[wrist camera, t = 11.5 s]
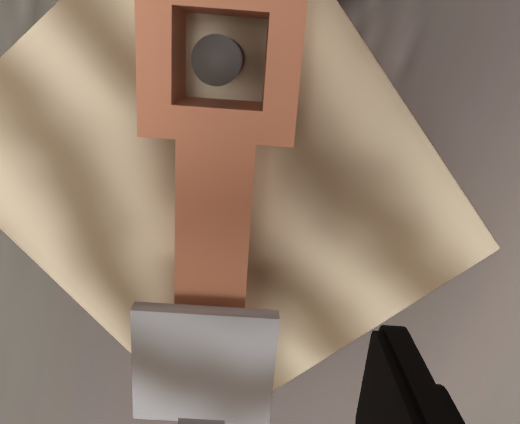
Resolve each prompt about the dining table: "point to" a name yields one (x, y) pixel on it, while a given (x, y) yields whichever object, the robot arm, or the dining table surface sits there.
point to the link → (215, 137)
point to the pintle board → (262, 214)
